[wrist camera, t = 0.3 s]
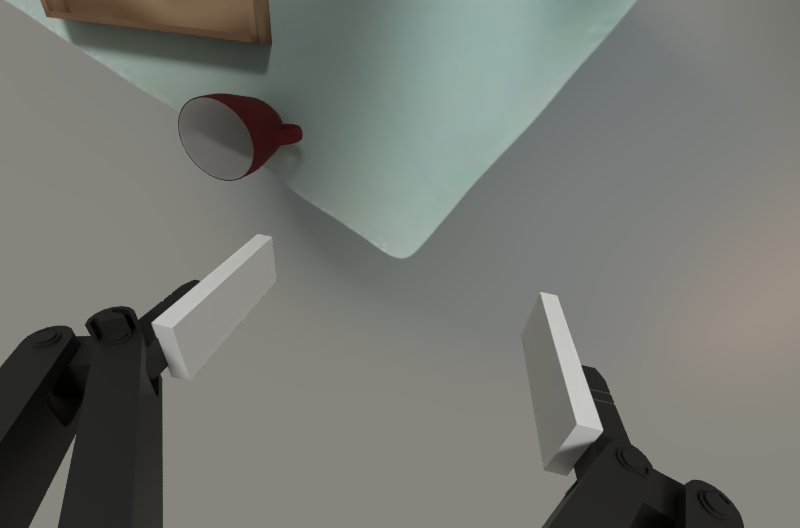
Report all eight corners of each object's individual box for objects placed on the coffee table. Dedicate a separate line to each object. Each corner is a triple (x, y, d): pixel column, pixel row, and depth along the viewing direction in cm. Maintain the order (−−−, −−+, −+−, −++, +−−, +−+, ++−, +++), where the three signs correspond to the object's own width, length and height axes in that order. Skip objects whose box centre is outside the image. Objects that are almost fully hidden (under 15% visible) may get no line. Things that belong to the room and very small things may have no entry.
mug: (308, 81, 38) (261, 88, 30) (323, 153, 42) (287, 177, 34) (227, 91, 40) (163, 100, 32) (249, 159, 44) (198, 183, 36)
